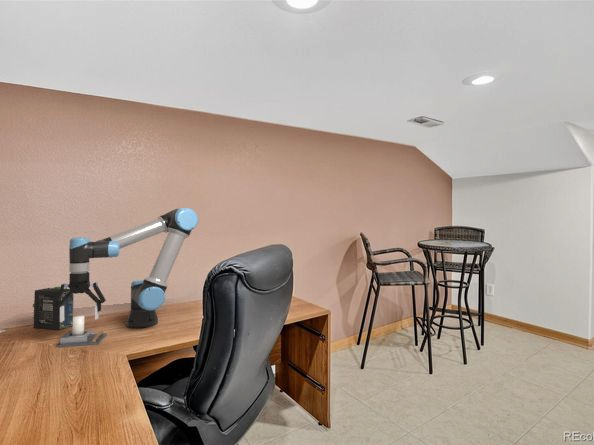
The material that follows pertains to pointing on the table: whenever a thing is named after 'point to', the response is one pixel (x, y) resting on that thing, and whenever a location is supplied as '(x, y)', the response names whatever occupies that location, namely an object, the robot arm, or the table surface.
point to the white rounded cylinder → (78, 325)
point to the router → (51, 309)
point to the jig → (81, 339)
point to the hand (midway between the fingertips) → (79, 320)
